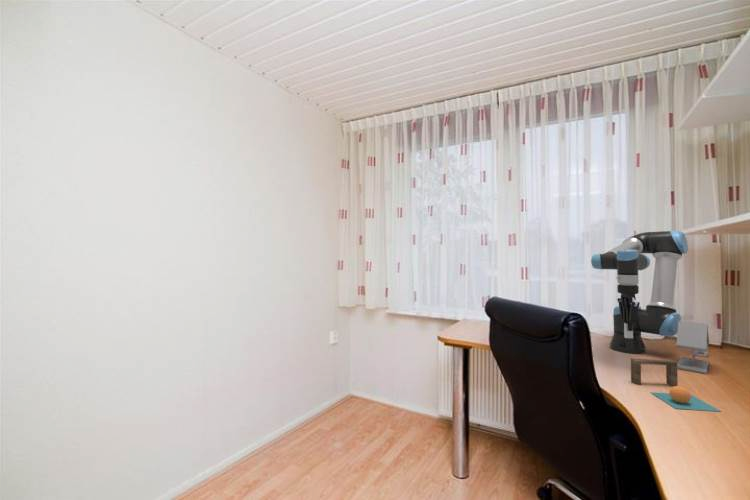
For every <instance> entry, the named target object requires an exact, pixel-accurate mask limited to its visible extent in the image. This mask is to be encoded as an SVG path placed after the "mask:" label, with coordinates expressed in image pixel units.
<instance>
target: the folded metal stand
mask: <svg viewBox="0 0 750 500" xmlns="http://www.w3.org/2000/svg"><path fill="white" fill-rule="evenodd" d="M709 335H710V334H709V327H708V323H703V322H695V321H694V322H692V321H684V320H681V321H679V322H678V332H677V333H676V343H675V344H676V345H675V347H676V348H679V349H685V350H691V357H686V356H680V359H679V360H678V362H677V370H682V371H683V370H684V371H686V372H687V371H688V372H695V373H697V374H699V373H700V374H705V375H708V368H709V366H710V364H711V363H710V360H705V359H704V360H703V359H697V358H695V357H696V355H695V350H699V351H705V352H707V347H706V345H707V344H708V345H709V344H710V338H709V337H710V336H709Z"/></svg>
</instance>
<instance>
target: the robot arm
mask: <svg viewBox="0 0 750 500" xmlns="http://www.w3.org/2000/svg"><path fill="white" fill-rule="evenodd" d="M688 250H689V245H688V240H687V237H686V235H685V233H684V232H683V231H681V230H667V231H666V230H665V231H646V232H641V233H637V234H634V235H632V236H629V237H627V238H626V239H624V240H623V241H622V243H621V244H619V245H617V246H615V247H613V248H612V249H609V250H608V251H607V252H604V253H594V254H592V256H591V260H590V263H591V266H592V268H593V269H595V270H597V269H598V270H616V271H617V273H616V274H617V275H616V281H617V282H616V283H617V291H616V292H617V293H618V294H620V297H619V298H617V299H616V300H617V303H618V305H617V306H615V307H614V308H613V315H612V316H613V317H612V318H613V334H612V338H611V340H610V343H609V348H610V349H612V350H613V351H617V352H621V353H628V354H645V353H646V352H647V351H646V349H647V347H646V345H645V343H644V340H643V338H642V333H645V334H651V335H652V334H653V335H660V336H662V337H663V336H664V337H674V336H675V335H677V332H678V322H679V321H682V319H681V315H680V313H678V312H677V309H676V308H675V307H674V297H675V296H674V295H675V287H676V277H677V268H678V260H680V259H682V257H683V255H684V254H687V253H688ZM646 254H652V255H651V257H653V258H654V259H655V260H654V268H653V269H654V270H653V280H652V288H651V295H650V302H649V304H646V305H645V309H644V308H643V309H642V308H641V306H640V304H641V302H640V301H637V298H636V295H637V294H639V291H640V289H639V271H643V270H646V269H648V268H649V266H650V265H651V259H650V258H649V256H648V255H646Z"/></svg>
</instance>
